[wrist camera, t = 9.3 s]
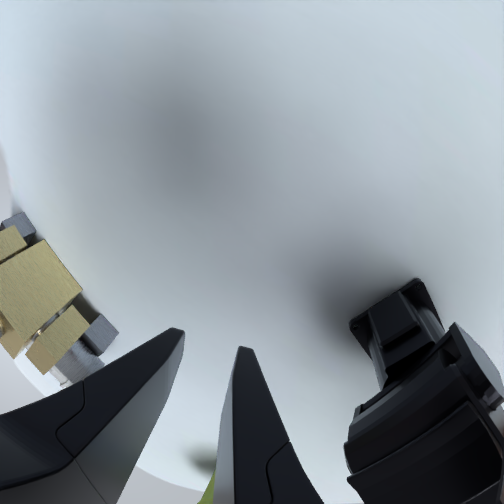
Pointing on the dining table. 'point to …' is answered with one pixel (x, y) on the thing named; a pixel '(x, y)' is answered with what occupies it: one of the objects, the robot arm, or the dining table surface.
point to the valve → (45, 307)
